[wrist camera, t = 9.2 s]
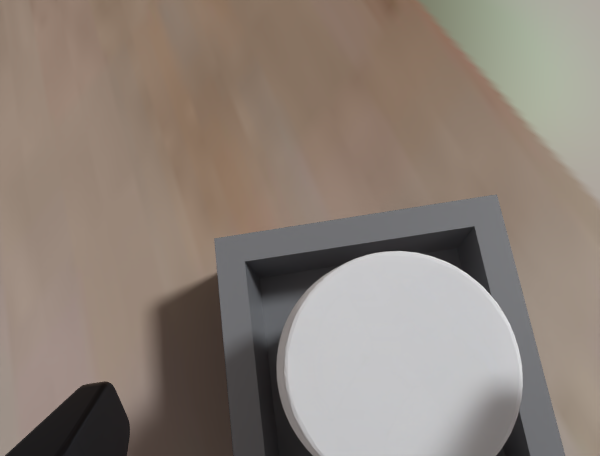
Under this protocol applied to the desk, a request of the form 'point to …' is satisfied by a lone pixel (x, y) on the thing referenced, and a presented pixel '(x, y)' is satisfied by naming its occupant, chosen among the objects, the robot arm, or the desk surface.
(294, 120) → the desk surface
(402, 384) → the pill bottle
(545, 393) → the bottle holder
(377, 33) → the desk surface
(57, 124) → the desk surface
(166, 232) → the desk surface
